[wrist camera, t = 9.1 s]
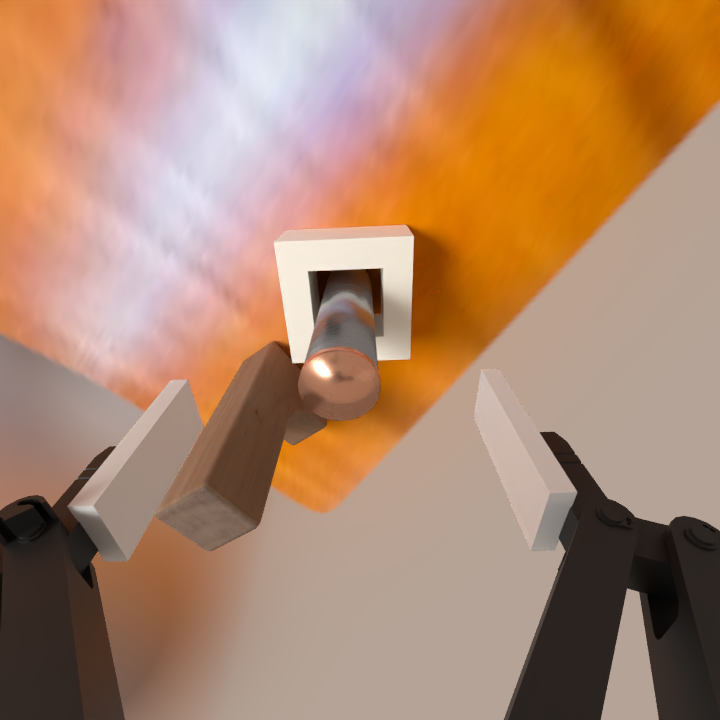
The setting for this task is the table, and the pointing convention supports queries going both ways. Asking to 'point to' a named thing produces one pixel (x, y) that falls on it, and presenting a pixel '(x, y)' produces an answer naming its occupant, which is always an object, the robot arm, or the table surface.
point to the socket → (345, 252)
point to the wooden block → (239, 452)
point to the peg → (342, 350)
